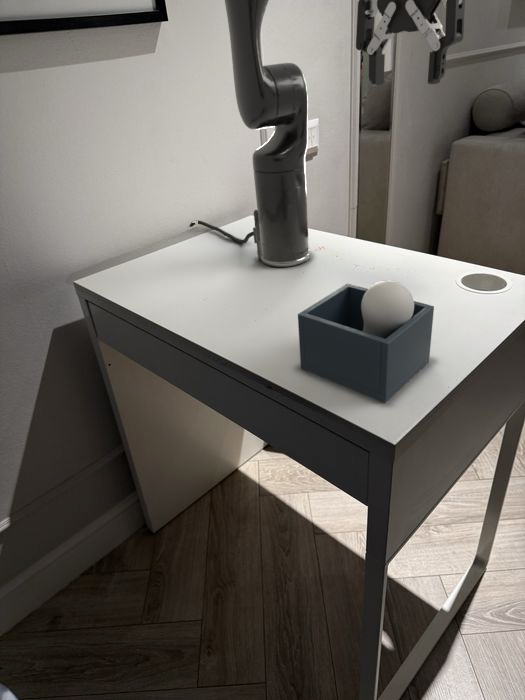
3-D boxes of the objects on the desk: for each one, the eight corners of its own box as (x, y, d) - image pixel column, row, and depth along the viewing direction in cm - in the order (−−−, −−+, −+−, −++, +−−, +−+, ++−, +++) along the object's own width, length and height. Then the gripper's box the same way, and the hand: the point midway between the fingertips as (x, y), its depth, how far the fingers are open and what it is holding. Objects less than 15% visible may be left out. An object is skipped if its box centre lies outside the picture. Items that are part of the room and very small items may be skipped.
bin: (300, 368, 68) (297, 314, 64) (347, 334, 74) (347, 283, 70) (385, 402, 60) (387, 343, 56) (429, 361, 66) (434, 306, 62)
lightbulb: (388, 378, 64) (422, 306, 57) (340, 363, 64) (369, 291, 57) (390, 348, 69) (421, 279, 62) (345, 335, 69) (372, 264, 62)
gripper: (483, -77, 60) (467, 79, 69) (377, -55, 69) (374, 81, 77) (454, -81, 56) (440, 87, 64) (344, -57, 64) (345, 88, 73)
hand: (404, 84), depth 71 cm, fingers open, 8 cm apart
